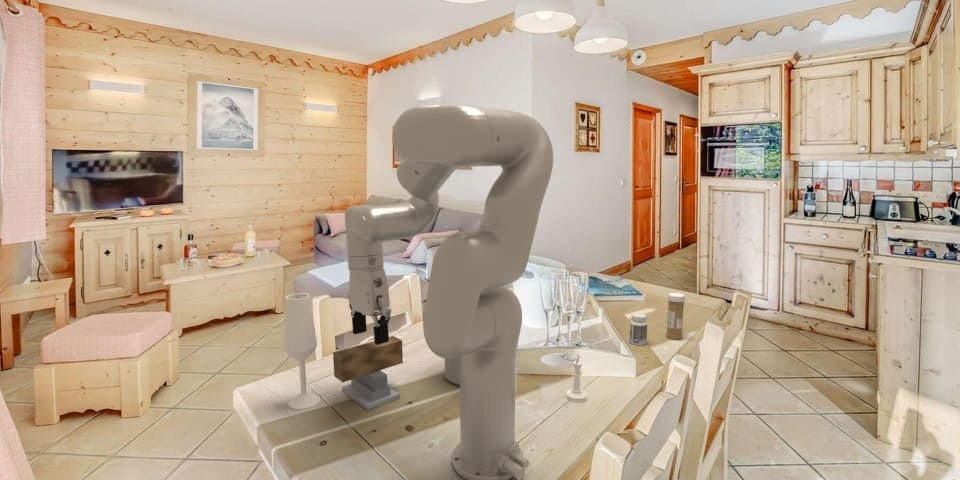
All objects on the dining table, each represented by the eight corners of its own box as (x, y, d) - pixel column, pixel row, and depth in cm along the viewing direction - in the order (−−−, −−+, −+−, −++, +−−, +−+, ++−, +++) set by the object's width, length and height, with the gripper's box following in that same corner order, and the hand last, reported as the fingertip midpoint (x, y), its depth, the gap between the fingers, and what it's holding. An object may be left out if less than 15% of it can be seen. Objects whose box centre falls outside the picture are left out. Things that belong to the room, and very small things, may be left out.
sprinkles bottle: (683, 340, 142) (686, 296, 139) (667, 339, 142) (670, 295, 140) (679, 335, 146) (682, 292, 144) (664, 334, 147) (666, 291, 145)
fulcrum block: (399, 397, 107) (399, 372, 106) (367, 410, 102) (366, 383, 101) (373, 380, 116) (372, 356, 115) (342, 390, 111) (341, 365, 110)
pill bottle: (649, 343, 139) (651, 315, 138) (638, 346, 137) (640, 318, 135) (636, 338, 143) (638, 311, 142) (625, 341, 141) (627, 314, 139)
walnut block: (393, 357, 114) (392, 335, 113) (402, 363, 111) (402, 340, 110) (334, 376, 104) (333, 352, 103) (342, 382, 101) (341, 357, 101)
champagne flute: (325, 394, 109) (319, 292, 105) (312, 409, 102) (305, 301, 98) (297, 393, 109) (290, 291, 105) (282, 408, 103) (274, 300, 99)
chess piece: (590, 395, 108) (592, 353, 107) (582, 404, 104) (584, 360, 103) (570, 389, 111) (571, 348, 110) (561, 398, 107) (562, 355, 105)
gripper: (402, 264, 100) (406, 342, 102) (362, 255, 113) (366, 325, 115) (370, 269, 95) (375, 352, 97) (332, 259, 108) (337, 333, 110)
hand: (370, 337), depth 106 cm, fingers open, 9 cm apart
